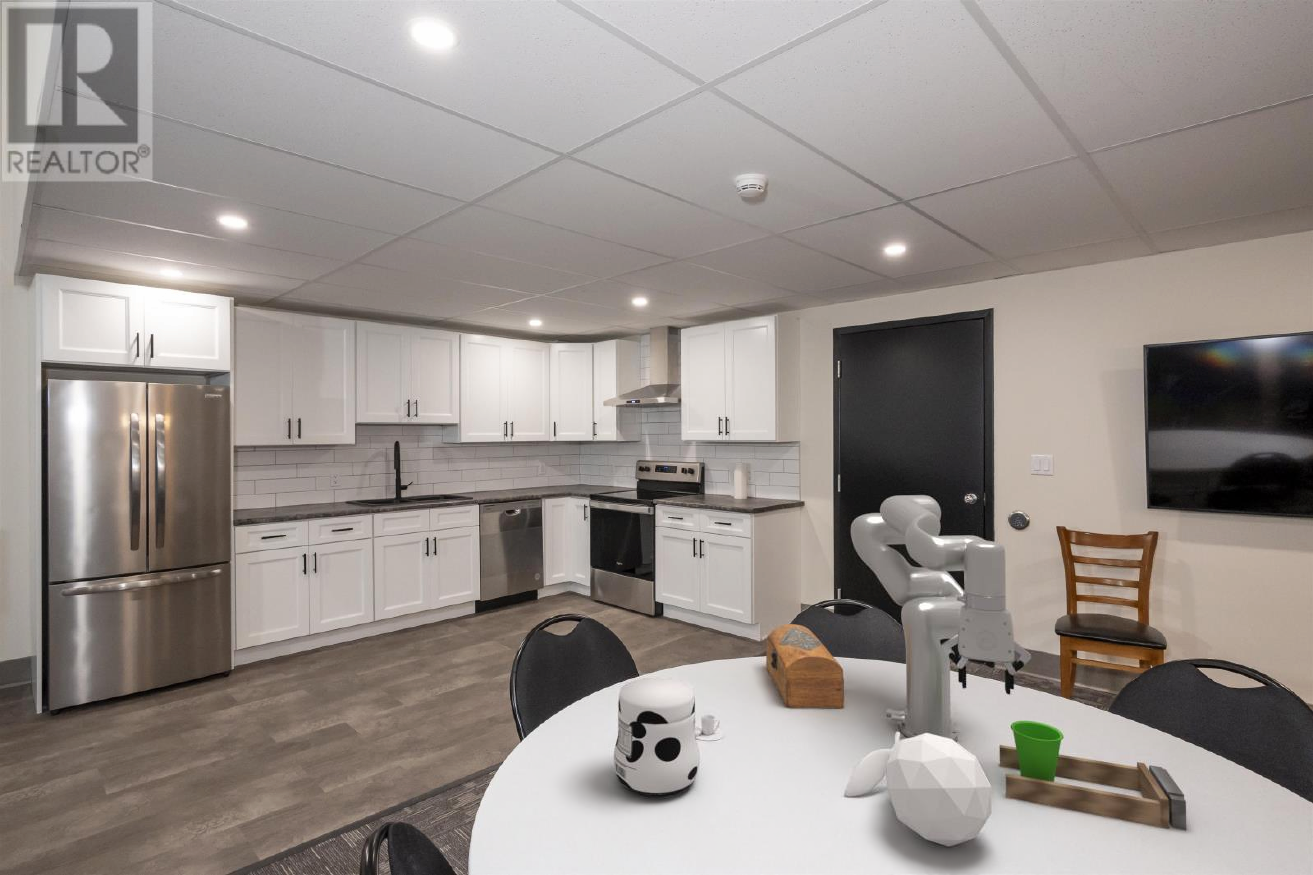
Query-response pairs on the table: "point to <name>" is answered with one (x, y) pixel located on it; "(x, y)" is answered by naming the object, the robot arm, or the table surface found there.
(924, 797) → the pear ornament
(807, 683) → the wooden box
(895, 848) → the table surface
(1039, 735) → the cup
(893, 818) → the table surface
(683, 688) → the milk container
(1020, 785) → the bay
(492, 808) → the table surface
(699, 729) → the teacup and saucer
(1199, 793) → the table surface
